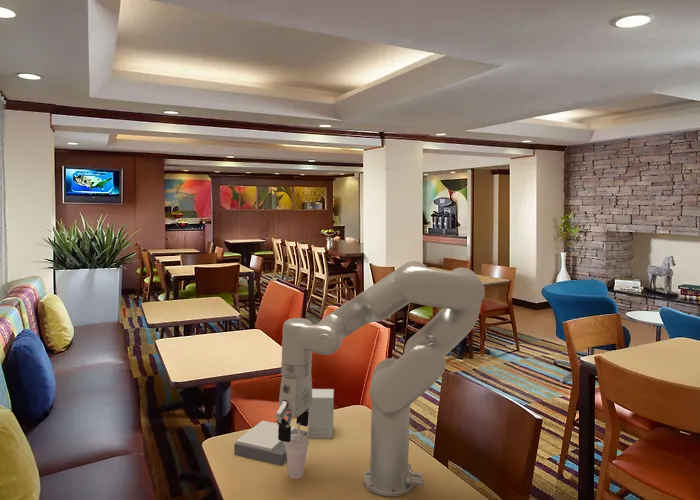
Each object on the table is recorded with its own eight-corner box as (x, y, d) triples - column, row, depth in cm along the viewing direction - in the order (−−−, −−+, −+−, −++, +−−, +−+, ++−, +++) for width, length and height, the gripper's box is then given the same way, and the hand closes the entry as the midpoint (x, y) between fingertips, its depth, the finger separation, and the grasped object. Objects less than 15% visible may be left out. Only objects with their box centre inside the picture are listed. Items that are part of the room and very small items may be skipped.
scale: (307, 441, 149) (307, 428, 149) (282, 465, 135) (282, 452, 135) (262, 431, 154) (262, 419, 154) (234, 454, 141) (234, 441, 140)
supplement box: (332, 439, 151) (333, 398, 150) (307, 438, 151) (308, 397, 150) (333, 427, 158) (334, 388, 157) (309, 427, 158) (310, 388, 157)
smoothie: (304, 483, 127) (305, 429, 126) (280, 480, 128) (280, 427, 127) (311, 470, 133) (312, 418, 132) (288, 467, 135) (288, 416, 133)
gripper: (293, 381, 119) (290, 451, 120) (324, 360, 135) (321, 422, 136) (265, 375, 121) (263, 444, 123) (298, 356, 137) (296, 416, 139)
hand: (293, 432), depth 130 cm, fingers open, 9 cm apart
